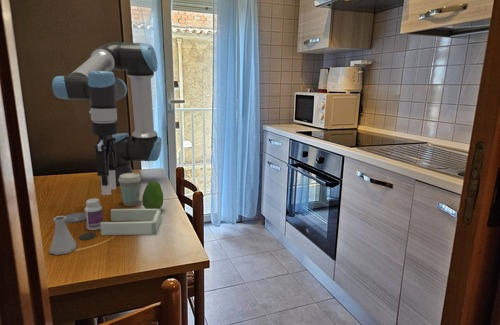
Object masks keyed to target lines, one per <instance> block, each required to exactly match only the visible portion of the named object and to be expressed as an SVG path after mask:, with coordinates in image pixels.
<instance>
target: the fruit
mask: <svg viewBox="0 0 500 325" xmlns="http://www.w3.org/2000/svg"><path fill="white" fill-rule="evenodd" d="M141 199H142V205H143V207H144V209H162V207H163V204H164V193H163V190H162V185H161V184H160V183H159V182H158V181H155V180H152V181H150V182H148V183H147V184H146V186H145V189H144V191H143V193H142V197H141Z"/></svg>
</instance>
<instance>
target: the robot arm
mask: <svg viewBox="0 0 500 325" xmlns="http://www.w3.org/2000/svg"><path fill="white" fill-rule="evenodd" d="M114 70H116V71H126V76H127V77H129V79H130V85H131V86H130V87H131V97H132V98H131V99H132V100H131V101H132V111H133V123H134V124H133V125H134V130H133V132H132V133H131V136H130V134H129V133H128V132H127V133H126V132H122V133H119V130H118V128H119V127H118V123H117V121H118V111H117V110H118V109H117V102H118V101H120V100H122V99H124V98H125V97H126V95H127V93H128V87H127V84H126V82H124V81H123V79H121V78H119V77H118V78H117V77H115V73H114V72H113V71H114ZM157 71H158V59H157V53H156V51H155V48H154V46H153V45H152V44H150V43H144V42H121V41H115V42H109V43H106V44H104V45H101V46H99V47H97V48H96V49H94V50H93V51H92V52H91V53H90V57H89V58H88V59H87V60H86V61H84V62H83V63H82V64H81V65H79V66H78V67H77V68H76V69H75V70H73V71H72V72H71V73H70V74H69V75H57V76H55V77H54V78H53V79H52V82H51V84H52V85H51V86H52V91H53V95H54V96H55V97H56V98H58V99H63V100H74V101H75V100H78V101H79V100H83V101H87V100H88V101H89V108H90V110H89V111H88V113H89V114H90V120H91V121H92V123H91V133H92V134H93V135H95V136H98V138H97V139H98V140H97V142H96V143H97V144H94V148H95V155H96V168H97V170H96V171H97V174H96V176H97V177H100V186H101V187H100V188H101V190H100V191H101V196H102V195H103V196H110V195H111V196H112V190H116V189H117V186H120V183H119V181H118V180H119V177H120V175H121V174H125V173H134V171H133V169H132V166H131V162H133V161H134V162H137V161H138V162H140V161H141V162H156V161H158V159H159V158H160V156H161V150H162V138H161V137H160V136H158V132H157V131H156V130H155V129H154V112H153V111H154V110H153V94H152V78H153V77H154V76H155V72H157Z"/></svg>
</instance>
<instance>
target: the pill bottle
mask: <svg viewBox="0 0 500 325" xmlns="http://www.w3.org/2000/svg"><path fill="white" fill-rule="evenodd" d="M100 203H101V202H100V199H99V198H89V199H87V200H86V201H85V205H86V206H85V207H84V213H85V226H86V229H87V230H89V231H97V230H101V226H100V224H101V222H104V215H103V207H102V205H101V204H100Z"/></svg>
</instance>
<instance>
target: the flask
mask: <svg viewBox="0 0 500 325" xmlns="http://www.w3.org/2000/svg"><path fill="white" fill-rule="evenodd" d="M66 216H67V215H58V216H56V217H55V216H54V217H53V222H54V225H55V227H54V233H53V237H52V242H51V244H50V248H49V251H48V254H50V255H56V256H58V255H65V254H70V253H72V252H73V251H75V250H76V249H77V244H78V243H77V242H76V240H75V239H74V238H73V235H72V234H71V232H70V230H69V228H68V226H67V222H66V221H65V220H66Z"/></svg>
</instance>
